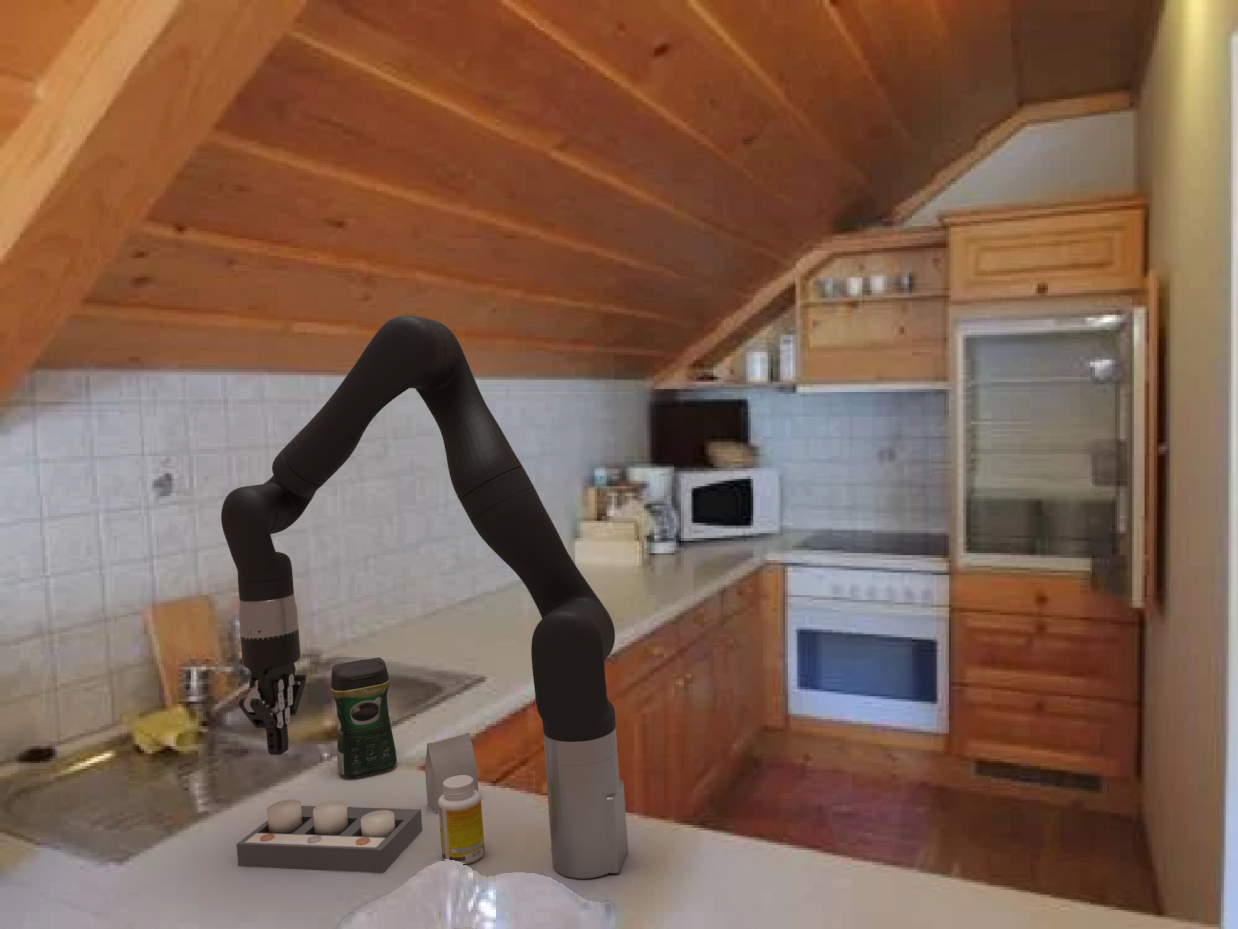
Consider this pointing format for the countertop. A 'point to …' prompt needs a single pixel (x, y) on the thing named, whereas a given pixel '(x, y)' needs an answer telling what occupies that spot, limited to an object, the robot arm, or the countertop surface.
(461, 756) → the grey carton box
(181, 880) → the countertop surface
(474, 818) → the supplement bottle
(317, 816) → the middle button
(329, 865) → the button board
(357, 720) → the coffee jar
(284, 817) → the button
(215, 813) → the countertop surface
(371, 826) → the button
